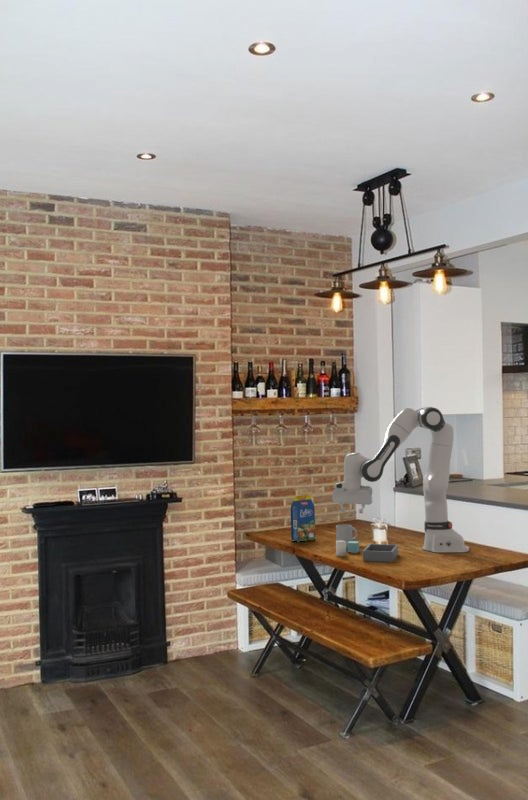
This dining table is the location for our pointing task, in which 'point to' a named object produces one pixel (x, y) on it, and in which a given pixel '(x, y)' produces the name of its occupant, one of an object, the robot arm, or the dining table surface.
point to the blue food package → (302, 518)
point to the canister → (341, 548)
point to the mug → (345, 533)
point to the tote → (380, 553)
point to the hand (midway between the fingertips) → (352, 512)
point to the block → (353, 546)
